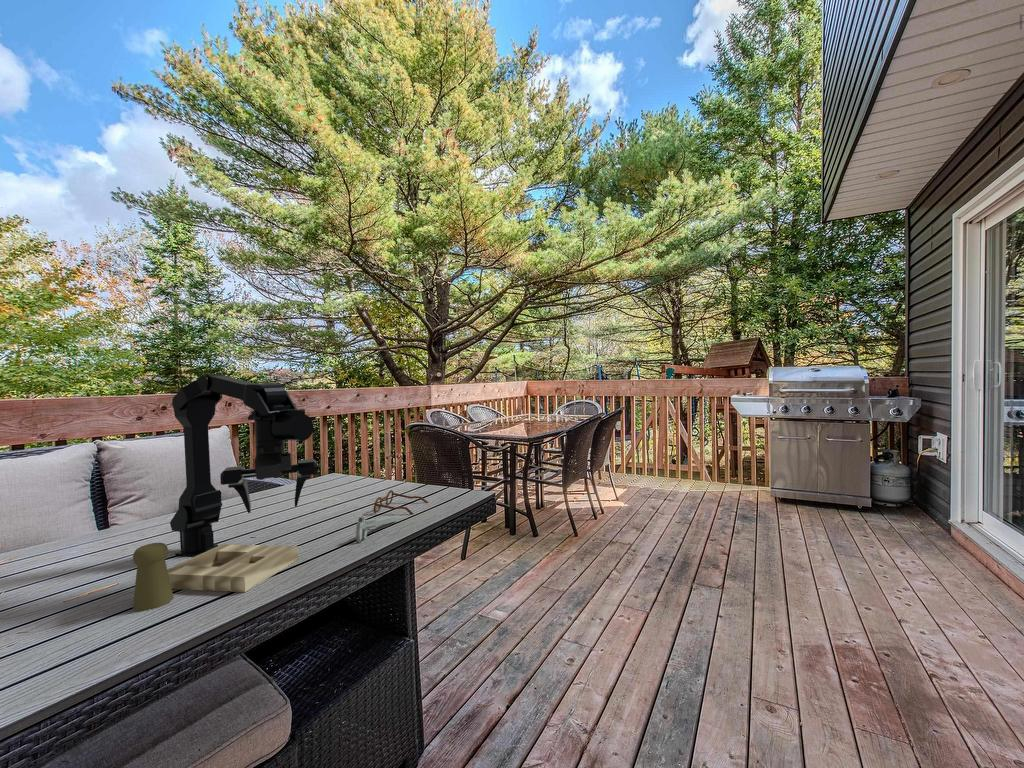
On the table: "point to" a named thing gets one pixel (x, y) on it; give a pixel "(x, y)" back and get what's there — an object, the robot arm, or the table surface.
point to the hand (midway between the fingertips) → (273, 509)
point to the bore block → (231, 567)
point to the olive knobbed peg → (151, 577)
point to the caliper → (371, 525)
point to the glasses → (391, 501)
